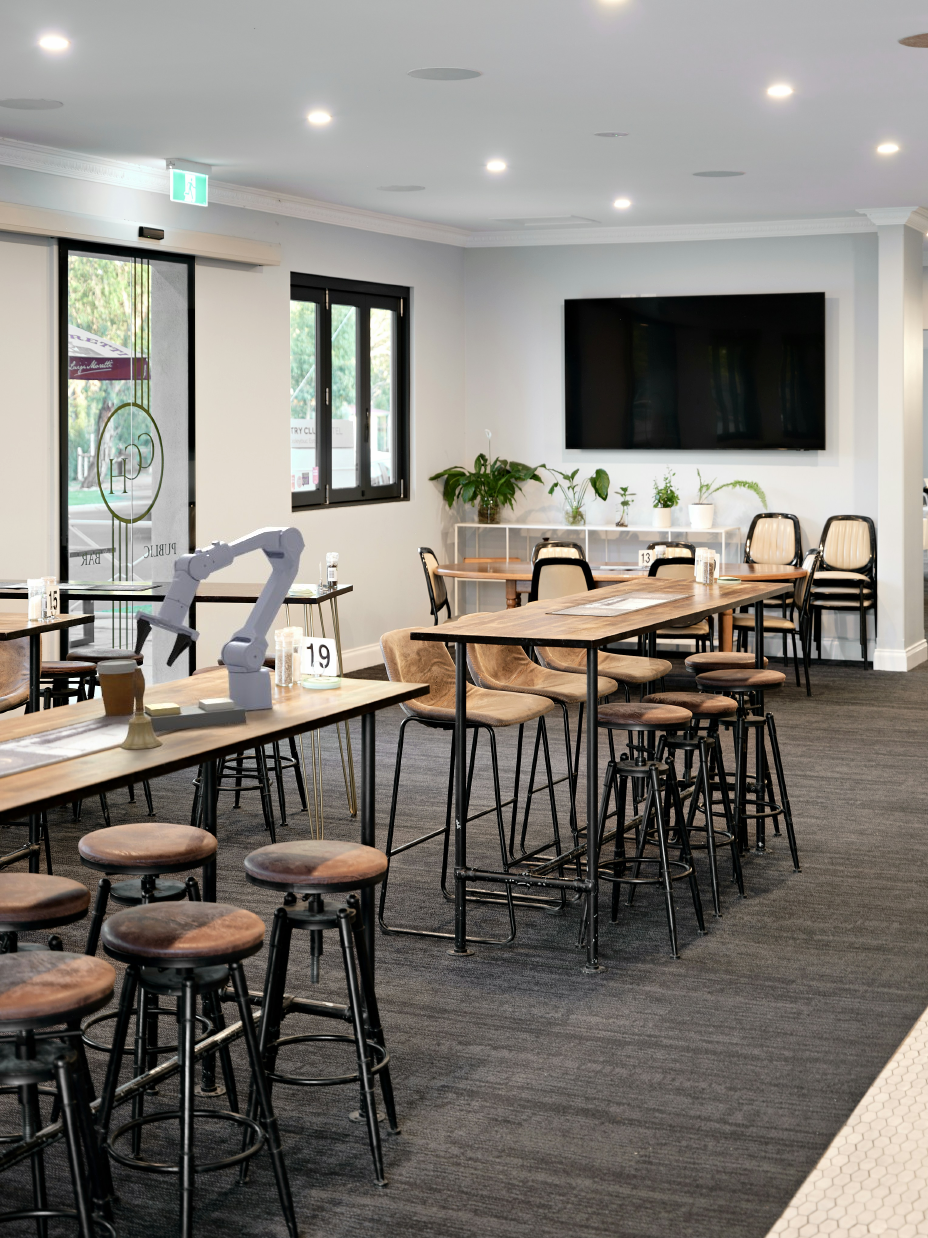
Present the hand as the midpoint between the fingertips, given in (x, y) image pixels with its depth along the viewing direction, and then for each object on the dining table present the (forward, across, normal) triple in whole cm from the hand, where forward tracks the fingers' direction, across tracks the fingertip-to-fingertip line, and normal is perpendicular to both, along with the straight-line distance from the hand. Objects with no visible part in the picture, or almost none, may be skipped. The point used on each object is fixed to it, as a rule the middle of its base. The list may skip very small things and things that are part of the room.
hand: (152, 659), depth 323 cm
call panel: (+10, +12, +4) cm, 16 cm away
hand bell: (+20, +10, -17) cm, 28 cm away
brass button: (+11, +7, +2) cm, 13 cm away
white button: (+6, +16, +6) cm, 18 cm away
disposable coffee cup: (+12, -8, +19) cm, 24 cm away
